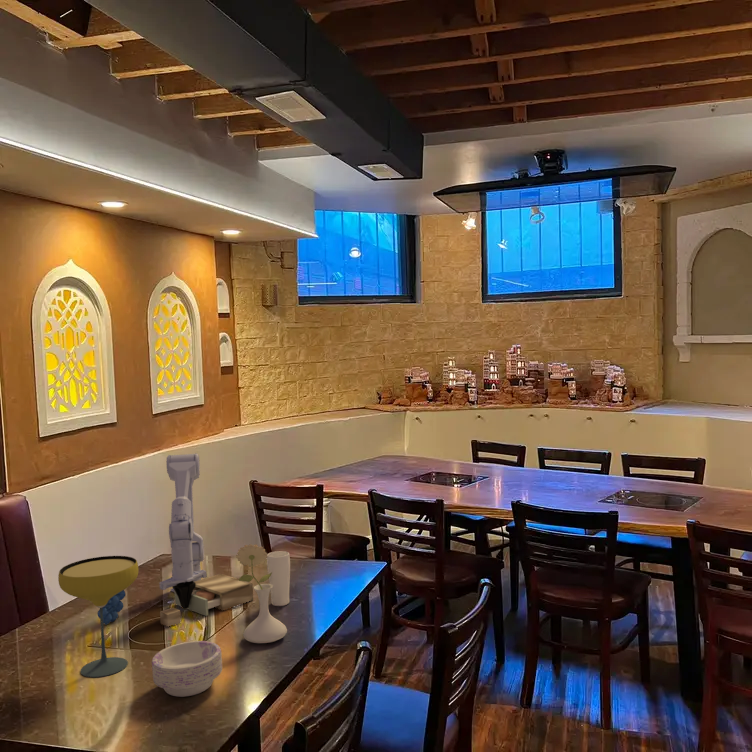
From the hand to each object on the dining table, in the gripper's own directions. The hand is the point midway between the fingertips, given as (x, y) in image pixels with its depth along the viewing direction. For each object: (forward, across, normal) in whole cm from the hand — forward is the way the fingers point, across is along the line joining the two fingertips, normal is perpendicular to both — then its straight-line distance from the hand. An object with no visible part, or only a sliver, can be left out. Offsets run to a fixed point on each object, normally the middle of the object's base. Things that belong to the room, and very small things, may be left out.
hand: (185, 607), depth 213 cm
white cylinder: (+2, +22, -18) cm, 28 cm away
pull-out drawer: (+1, +7, 0) cm, 7 cm away
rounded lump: (-1, +7, 0) cm, 7 cm away
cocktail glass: (+2, -34, -18) cm, 38 cm away
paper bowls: (+2, -26, -44) cm, 51 cm away
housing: (+1, +13, 0) cm, 13 cm away
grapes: (+2, -18, +11) cm, 21 cm away
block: (+1, -8, -5) cm, 9 cm away
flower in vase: (+2, +2, -34) cm, 35 cm away
